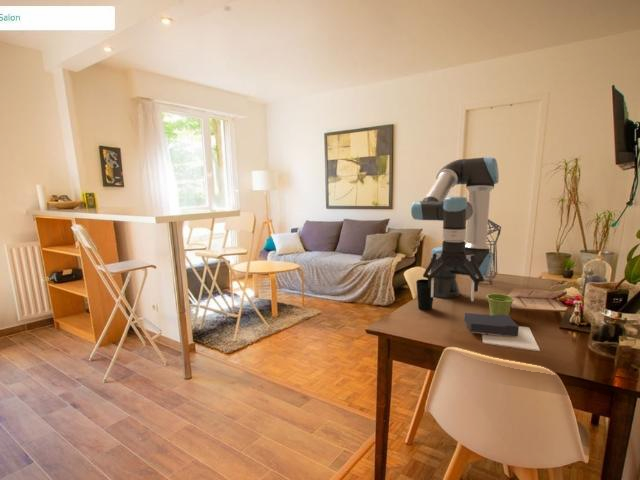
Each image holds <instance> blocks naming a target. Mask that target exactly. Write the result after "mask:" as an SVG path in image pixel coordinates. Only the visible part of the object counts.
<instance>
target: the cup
mask: <svg viewBox="0 0 640 480" xmlns="http://www.w3.org/2000/svg"><path fill="white" fill-rule="evenodd" d="M415 282H416V293H417V305H418V306H417V307H418V310H420V311H424V312H429V311H431V310H432V309H433V303H434V297H435V296H434V294H433V297H431V288H428V279H427V278H426V279H424V278H422V279H420V278H419V279H417V280H416V281H415ZM434 288H435V282H434Z"/></svg>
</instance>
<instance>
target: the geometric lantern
mask: <svg viewBox="0 0 640 480" xmlns="http://www.w3.org/2000/svg"><path fill="white" fill-rule="evenodd" d="M501 231H502V226H501V225H499V224H497V223H495V222H494V221H492V220H490V219H489V218H488V229H487V241H486V245H487V246H490V247H489V248H490V251H489V252H492V251H493V252H492V253H493V260H492V267H491V269H490V272H489V275H487V276H486V277H485V278H488V279H485V278H484V281H488V283H487V282H479V283H478V284H483V285H484V284H485V285H492V281H493V279H495V278H496V277H497V275H498V251H497V243H498V239H499V236H500V235H501ZM496 232H497V235H496V238H495V240H494V238H493V236H492V235H491V234H493V233H496ZM488 235H490V237H491V239H492V240H490V239H489V238H488ZM487 242H488V243H487ZM492 246H493V247H492ZM493 273H494V274H493ZM492 274H493V275H492ZM476 278H478V277H476Z"/></svg>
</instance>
